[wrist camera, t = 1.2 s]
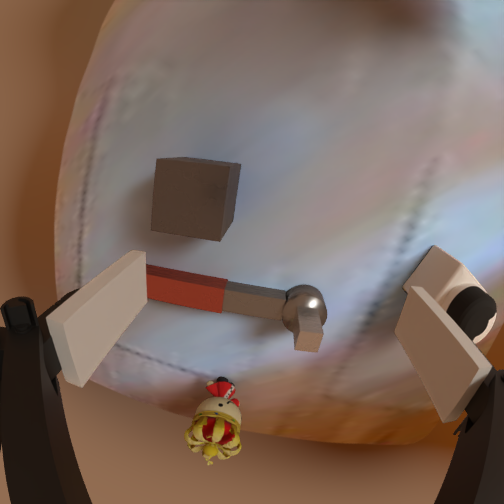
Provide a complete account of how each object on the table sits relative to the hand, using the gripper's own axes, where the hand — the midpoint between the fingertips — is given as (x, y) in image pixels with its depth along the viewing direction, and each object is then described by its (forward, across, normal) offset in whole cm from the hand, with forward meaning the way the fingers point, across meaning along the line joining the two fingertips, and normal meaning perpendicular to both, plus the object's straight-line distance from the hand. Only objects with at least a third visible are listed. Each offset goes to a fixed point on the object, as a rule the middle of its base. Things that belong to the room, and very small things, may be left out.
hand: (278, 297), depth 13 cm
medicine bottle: (+20, +22, -5) cm, 30 cm away
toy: (+20, -4, -26) cm, 33 cm away
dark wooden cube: (+19, -8, +2) cm, 21 cm away
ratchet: (+20, -4, -10) cm, 22 cm away
